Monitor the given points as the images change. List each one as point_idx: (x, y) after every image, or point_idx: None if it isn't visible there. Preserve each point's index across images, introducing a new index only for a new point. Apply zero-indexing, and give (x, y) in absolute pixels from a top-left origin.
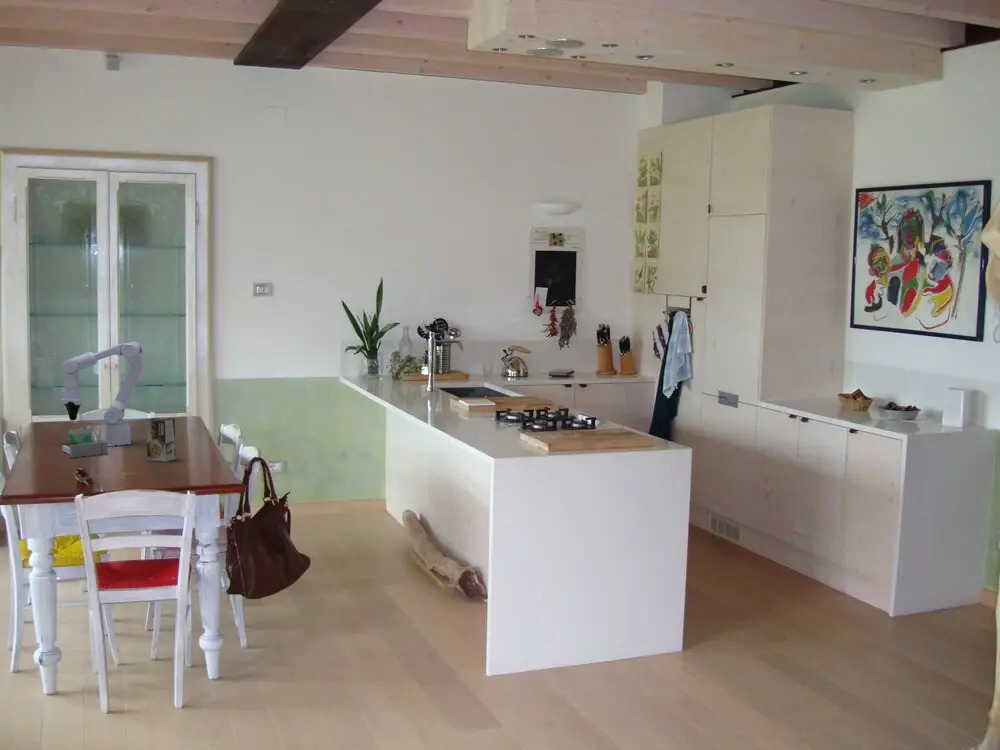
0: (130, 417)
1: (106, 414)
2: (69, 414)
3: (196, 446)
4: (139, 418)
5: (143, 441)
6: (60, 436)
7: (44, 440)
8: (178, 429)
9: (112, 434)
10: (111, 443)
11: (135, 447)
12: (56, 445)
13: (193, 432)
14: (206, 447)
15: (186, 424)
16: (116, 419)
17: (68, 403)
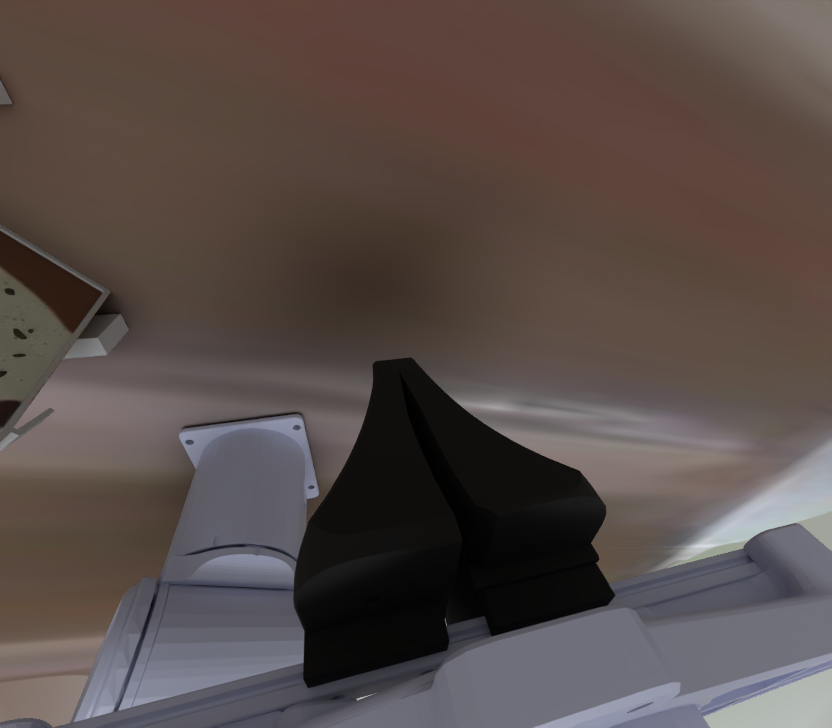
0: (743, 516)
1: (93, 674)
2: (389, 400)
3: (75, 651)
4: (708, 531)
5: None
6: (689, 275)
7: (668, 139)
8: None
9: (184, 505)
10: (204, 451)
11: (111, 516)
12: (408, 146)
13: None
14: (38, 670)
15: None
16: (100, 651)
17: (552, 554)
